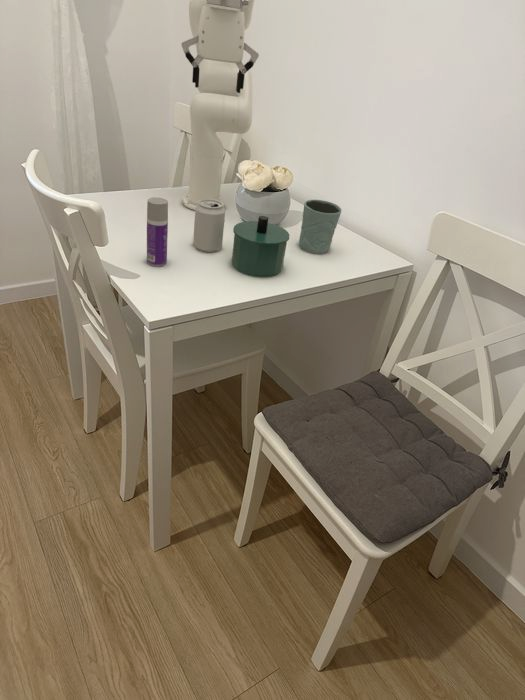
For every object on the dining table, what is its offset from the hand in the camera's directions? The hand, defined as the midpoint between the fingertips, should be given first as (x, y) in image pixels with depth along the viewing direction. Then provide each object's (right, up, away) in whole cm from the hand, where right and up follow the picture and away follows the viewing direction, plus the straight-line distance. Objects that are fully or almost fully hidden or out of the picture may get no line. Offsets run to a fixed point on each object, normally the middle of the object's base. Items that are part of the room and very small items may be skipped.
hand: (217, 89), depth 118 cm
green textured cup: (+25, -32, +24) cm, 47 cm away
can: (-4, -34, +14) cm, 37 cm away
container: (-15, -40, +3) cm, 43 cm away
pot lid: (+10, -33, +4) cm, 34 cm away
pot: (+9, -39, +9) cm, 41 cm away
